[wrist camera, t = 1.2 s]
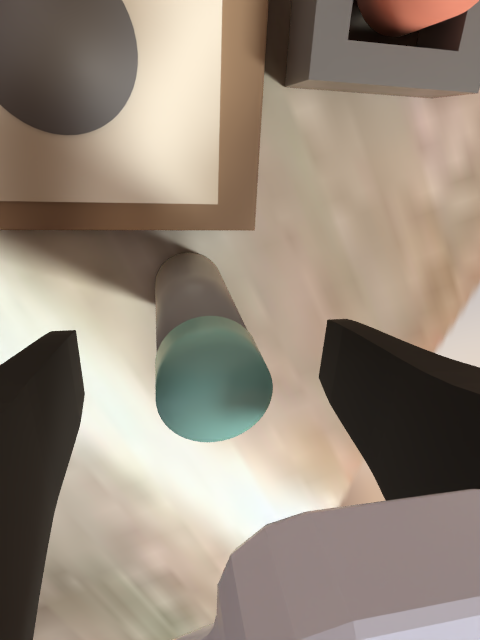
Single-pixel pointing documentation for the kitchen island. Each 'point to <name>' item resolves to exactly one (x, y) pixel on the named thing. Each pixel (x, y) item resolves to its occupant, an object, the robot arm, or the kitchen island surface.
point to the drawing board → (130, 113)
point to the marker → (205, 355)
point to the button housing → (381, 55)
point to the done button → (409, 14)
